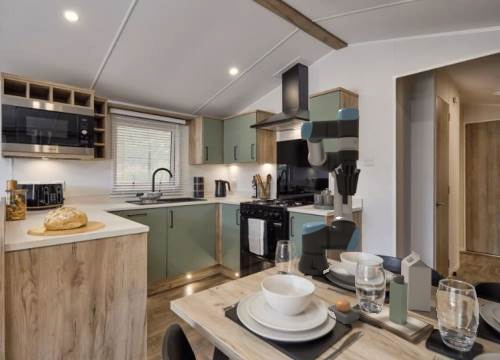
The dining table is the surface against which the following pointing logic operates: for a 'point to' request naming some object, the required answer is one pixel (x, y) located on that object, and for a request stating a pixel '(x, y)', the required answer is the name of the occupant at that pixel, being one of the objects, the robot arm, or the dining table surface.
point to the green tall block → (398, 299)
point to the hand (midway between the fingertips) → (347, 212)
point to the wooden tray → (406, 331)
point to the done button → (342, 305)
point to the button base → (345, 314)
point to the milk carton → (417, 282)
